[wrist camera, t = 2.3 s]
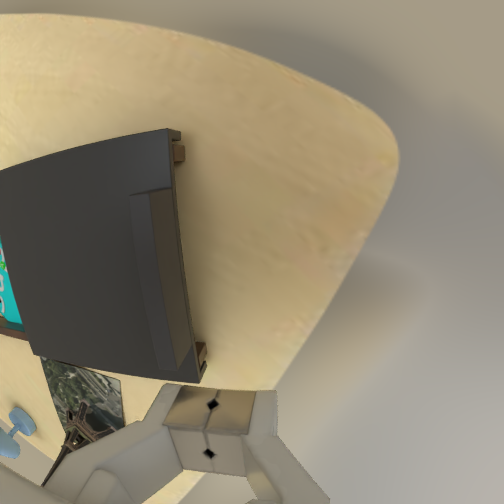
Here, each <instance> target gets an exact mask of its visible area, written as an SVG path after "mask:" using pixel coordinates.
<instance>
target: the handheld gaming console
mask: <svg viewBox="0 0 504 504" xmlns="http://www.w3.org/2000/svg"><path fill="white" fill-rule="evenodd" d="M0 313H1V314H2V315H3V316H4V317H5V318H6V319H7V320H8V321H10V322H15V323H20V324H22V321H21V318H20V315H19V312H18V308H17V305H16V302H15V298H14V295H13V291H12V288H11V284H10V280H9V276H8V272H7V268H6V263H5V259H4V254H3V249H2V244H1V239H0Z"/></svg>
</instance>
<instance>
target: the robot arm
mask: <svg viewBox="0 0 504 504" xmlns="http://www.w3.org/2000/svg"><path fill="white" fill-rule="evenodd" d="M277 418H278V417H277V391H276V390H257V391H251V390H228V389H215V388H205V387H196V386H188V385H178V384H170V383H166V384H164V385H163V386H162V388H161V389H160V391H159V393H158V395H157V396H156V398H155V400H154V402H153V403H152V405H151V407H150V408H149V410H148V412H147V414H146V415H145V417H144V419H143V421H138V420H137V421H135V422H133V423H131V424H129V425H127V426H125V427H123V428H122V429H120V430H118V431H116V432H114V433H112V434H110V435H108V436H106V437H103V438H101V439H99V440H97V441H95V442H93V443H91V444H89V445H87V446H85V447H83V448H80V449H78V450H76V451H74V452H72V453H69V454H67V455H66V456H65V458H64V459H63V461H62V462H61V463H60V465H59V466H58V468H57V469H56V470H55V472H54V473H53V475H52V476H51V477H50V479H49V480H48V482H47V483H46V484H45V486H44V487H43V488H42V487H41V486H39V485H37V484H35V483H33V482H32V481H30V480H28V479H26V478H25V477H23V476H21V475H20V474H18V473H16V472H15V471H13V470H12V469H10V468H9V467H7V466H6V465H4V464H3V463H1V462H0V504H141V503H143V502H144V501H146V500H147V499H148V498H150V497H151V496H152V495H153V494H155V493H156V492H157V491H159V490H160V489H161V488H163V487H164V486H165V485H166V484H168V483H169V482H170V481H171V480H173V479H174V478H175V477H176V476H178V475H179V474H180V473H181V472H182V471H183V469H185V470H192V471H200V472H208V473H217V474H224V475H232V476H241V477H247V480H248V482H249V484H250V486H251V488H252V489H253V491H254V493H255V495H256V497H257V498H258V500H255V499H252V500H251V501H249V502H247V503H246V504H330V498H329V497H328V496H327V495H326V494H325V493H324V491H323V490H322V489H321V488H320V487H319V486H318V485H317V483H316V482H315V481H314V480H313V479H312V477H311V476H310V475H309V474H308V473H307V471H306V470H305V469H304V468H303V467H302V465H301V464H300V463H299V462H298V461H297V459H296V458H295V457H294V456H293V454H292V453H291V452H290V451H289V449H288V448H287V447H286V446H285V444H284V443H283V442H282V440H281V439H280V438H279V437H278V436H277V423H278V422H277V421H278V419H277Z"/></svg>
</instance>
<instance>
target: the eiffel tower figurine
mask: <svg viewBox="0 0 504 504" xmlns="http://www.w3.org/2000/svg"><path fill="white" fill-rule="evenodd" d="M40 359H41V363H42V367H43V370H44V373H45V377H46V380H47V383H48V386H49V390H50V393H51V396H52V399H53V402H54V405H55V408H56V411H57V414H58V416H59V419H60V422H61V424H62V426H63V429H64V431H65V433H66V437H65V441H64V445H62V446H61V447H62V449H61V452H60V454H59V456H58V458H57V459H56V461H55V463H54V465H53V467H52V468H51V470H50V471H49V473H48V475H47V477H46V478H45V480H44V482H43V483H42V485H41V487H42V488H43V487H44V486H45V484H46V483H47V482H48V480H49V479H50V477H51V476H52V475H53V473H54V472H55V470H56V469H57V468H58V466H59V465H60V463H61V462H62V461H63V459H64V458H65V456H66V455H67V454H69V453H72V452H74V451H76V450H78V449H80V448H83V447H85V446H87V445H89V444H91V443H93V442H95V441H97V440H99V439H101V438H103V437H106V436H108V435H110V434H112V433H114V432H116V431H118V430H120V429H122V428H123V427H124V425H123V417H122V406H121V391H120V381H119V380H116V379H113V378H109V377H106V376H103V375H100V374H97V373H94V372H91V371H88V370H85V369H81V368H78V367H74V366H71V365H67V364H63V363H60V362H57V361H54V360H51V359H48V358H44V357H41V356H40ZM73 442H75V443H76V444H75V445H74V444H73Z"/></svg>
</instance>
